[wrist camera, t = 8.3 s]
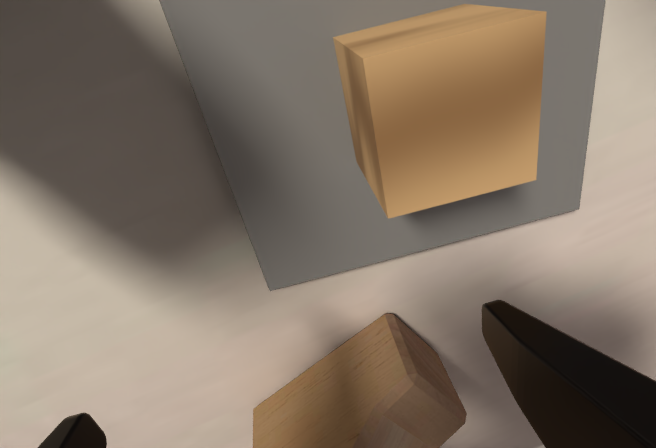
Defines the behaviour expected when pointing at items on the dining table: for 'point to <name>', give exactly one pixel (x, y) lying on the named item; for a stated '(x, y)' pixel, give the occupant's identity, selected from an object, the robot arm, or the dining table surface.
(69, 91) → the dining table surface
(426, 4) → the charcoal mat
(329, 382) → the decorative block
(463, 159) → the oak cube
